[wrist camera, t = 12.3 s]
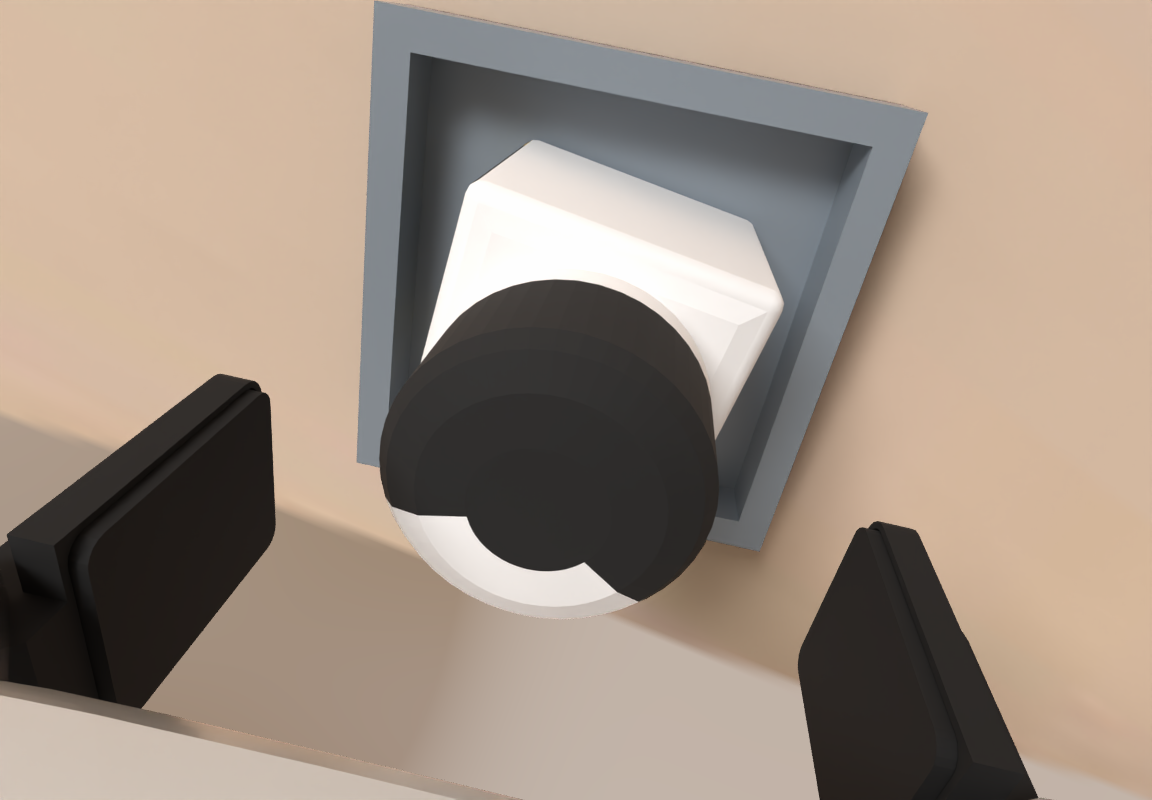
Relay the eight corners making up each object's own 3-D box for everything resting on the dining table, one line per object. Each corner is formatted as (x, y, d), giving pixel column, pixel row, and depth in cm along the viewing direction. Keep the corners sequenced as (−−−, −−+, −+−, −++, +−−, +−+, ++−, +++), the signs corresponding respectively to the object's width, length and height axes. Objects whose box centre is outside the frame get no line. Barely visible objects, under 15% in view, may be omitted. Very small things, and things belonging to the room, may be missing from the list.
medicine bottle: (529, 134, 21) (376, 238, 10) (757, 221, 21) (841, 411, 10) (467, 345, 24) (302, 591, 13) (664, 418, 24) (657, 714, 14)
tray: (899, 103, 20) (928, 113, 18) (752, 508, 26) (759, 551, 24) (407, 4, 20) (374, 0, 18) (382, 427, 27) (356, 462, 24)
